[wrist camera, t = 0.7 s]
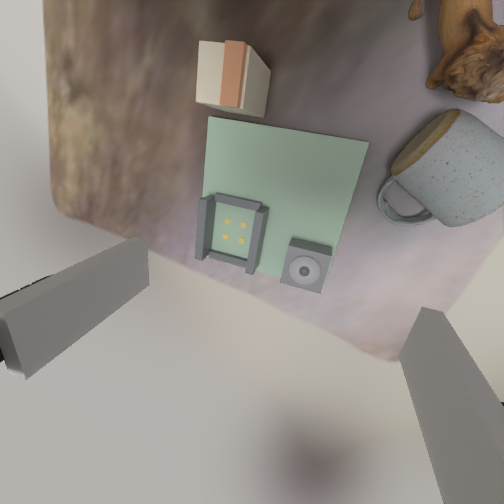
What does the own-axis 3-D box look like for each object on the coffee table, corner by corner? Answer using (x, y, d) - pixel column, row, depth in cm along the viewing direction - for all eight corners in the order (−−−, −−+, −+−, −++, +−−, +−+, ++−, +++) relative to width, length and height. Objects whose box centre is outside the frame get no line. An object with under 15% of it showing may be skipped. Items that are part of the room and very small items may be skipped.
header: (209, 190, 34) (199, 194, 31) (270, 204, 32) (264, 209, 29) (204, 253, 37) (194, 262, 35) (258, 268, 36) (252, 278, 33)
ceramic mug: (437, 106, 25) (474, 93, 19) (503, 158, 25) (565, 164, 19) (357, 193, 30) (363, 208, 23) (412, 237, 30) (434, 264, 24)
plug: (232, 66, 29) (194, 36, 21) (271, 71, 28) (247, 42, 20) (227, 112, 31) (191, 100, 23) (263, 118, 30) (239, 107, 22)
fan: (291, 237, 33) (287, 246, 30) (332, 247, 32) (332, 258, 29) (283, 272, 35) (278, 284, 32) (321, 282, 34) (320, 295, 31)
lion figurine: (503, 92, 24) (591, 64, 16) (438, 126, 26) (486, 117, 18) (446, -84, 21) (517, -228, 13) (378, -29, 23) (403, -123, 15)
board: (212, 117, 31) (208, 116, 30) (368, 142, 28) (369, 142, 27) (201, 252, 39) (197, 255, 38) (323, 285, 35) (323, 289, 34)
